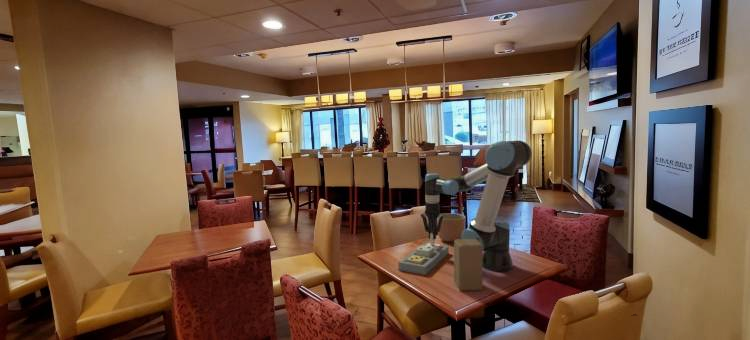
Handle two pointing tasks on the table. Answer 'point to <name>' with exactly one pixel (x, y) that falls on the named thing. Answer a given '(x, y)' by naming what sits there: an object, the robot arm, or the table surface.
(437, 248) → the tile one
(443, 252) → the tile board
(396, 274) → the table surface
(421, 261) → the tile three
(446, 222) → the planter
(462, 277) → the wooden block
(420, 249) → the tile two
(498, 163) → the robot arm
